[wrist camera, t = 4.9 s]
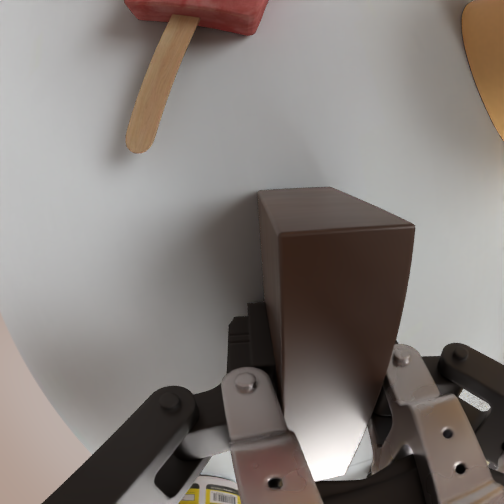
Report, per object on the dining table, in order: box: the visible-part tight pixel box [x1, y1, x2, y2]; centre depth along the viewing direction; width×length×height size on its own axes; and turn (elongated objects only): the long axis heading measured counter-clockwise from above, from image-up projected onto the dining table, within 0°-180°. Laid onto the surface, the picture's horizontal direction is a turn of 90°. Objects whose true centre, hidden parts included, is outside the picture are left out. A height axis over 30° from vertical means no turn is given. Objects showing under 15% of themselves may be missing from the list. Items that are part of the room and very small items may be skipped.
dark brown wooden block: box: [257, 187, 415, 481], centre depth 11 cm, size 4×22×5 cm, turn 4°
